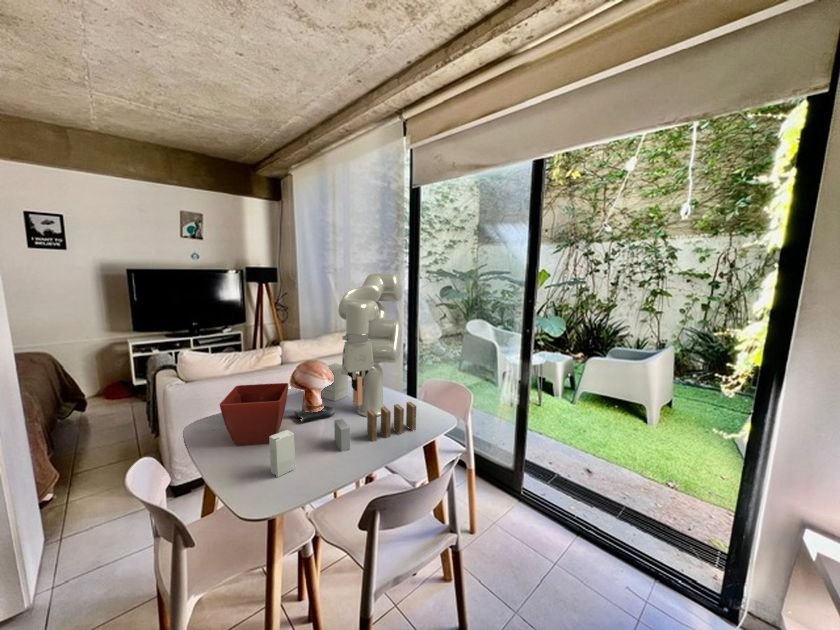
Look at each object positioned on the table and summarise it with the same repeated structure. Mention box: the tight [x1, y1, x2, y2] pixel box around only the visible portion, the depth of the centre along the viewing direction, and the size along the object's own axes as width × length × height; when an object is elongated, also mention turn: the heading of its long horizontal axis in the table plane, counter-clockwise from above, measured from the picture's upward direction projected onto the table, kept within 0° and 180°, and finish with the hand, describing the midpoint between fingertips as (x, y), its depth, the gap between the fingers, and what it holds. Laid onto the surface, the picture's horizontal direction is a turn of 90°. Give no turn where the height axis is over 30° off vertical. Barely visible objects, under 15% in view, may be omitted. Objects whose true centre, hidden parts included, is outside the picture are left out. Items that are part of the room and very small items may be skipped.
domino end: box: [352, 372, 362, 406], centre depth 122 cm, size 2×5×10 cm, turn 30°
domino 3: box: [393, 403, 405, 435], centre depth 133 cm, size 2×5×10 cm, turn 30°
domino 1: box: [366, 409, 378, 442], centre depth 127 cm, size 2×5×10 cm, turn 31°
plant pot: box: [219, 382, 289, 447], centre depth 126 cm, size 19×19×17 cm
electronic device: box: [294, 405, 335, 424], centre depth 144 cm, size 9×6×15 cm
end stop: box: [333, 418, 351, 453], centre depth 122 cm, size 3×8×8 cm, turn 30°
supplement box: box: [321, 362, 349, 402], centre depth 165 cm, size 9×9×15 cm
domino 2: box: [380, 407, 391, 439], centre depth 130 cm, size 2×5×10 cm, turn 30°
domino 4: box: [405, 401, 417, 432], centre depth 135 cm, size 2×5×10 cm, turn 31°
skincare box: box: [269, 429, 296, 478], centre depth 106 cm, size 6×4×12 cm
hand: (357, 388), depth 122 cm, fingers closed on domino end, 1 cm apart
